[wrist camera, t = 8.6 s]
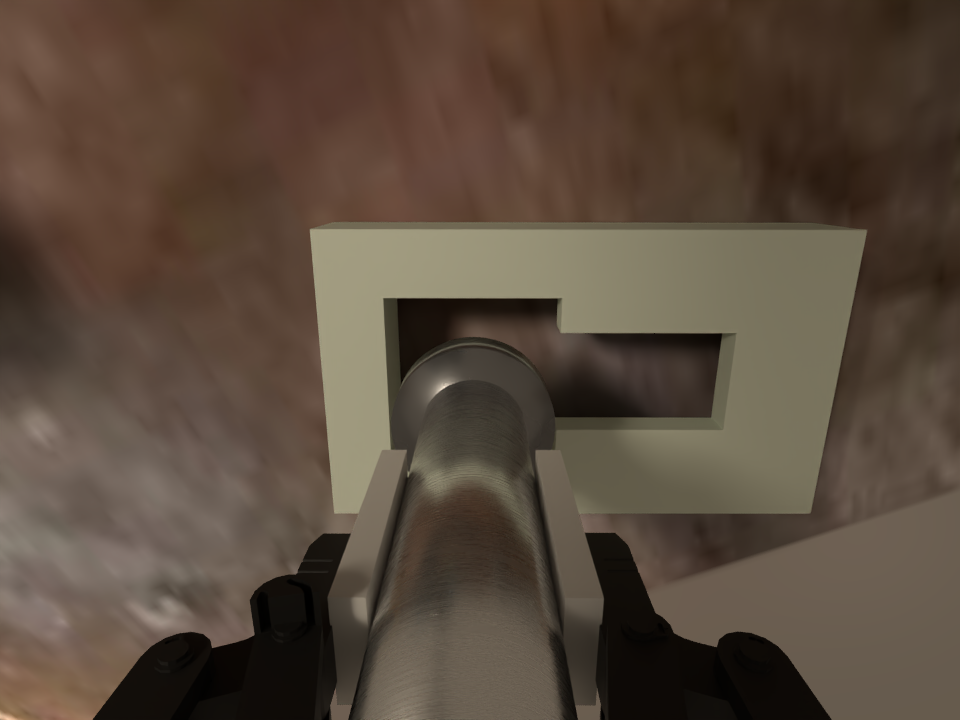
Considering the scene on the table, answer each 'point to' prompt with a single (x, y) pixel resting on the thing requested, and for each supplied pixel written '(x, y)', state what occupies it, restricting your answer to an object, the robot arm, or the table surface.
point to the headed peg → (468, 550)
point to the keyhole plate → (612, 309)
